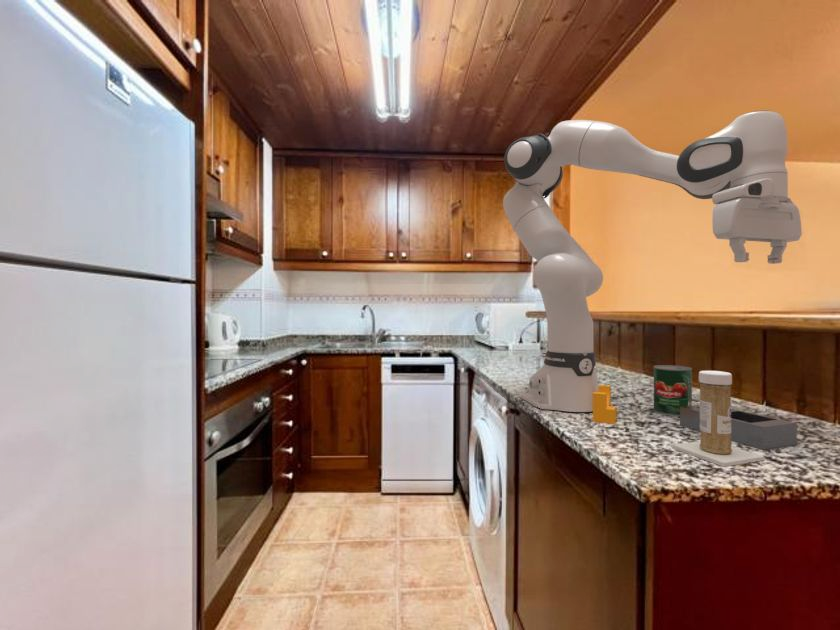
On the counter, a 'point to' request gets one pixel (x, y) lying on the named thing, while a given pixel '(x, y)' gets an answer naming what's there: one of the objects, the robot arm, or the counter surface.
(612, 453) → the counter surface
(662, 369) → the canned tomato
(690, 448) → the plate
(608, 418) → the orange stepped block
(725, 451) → the sprinkles bottle
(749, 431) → the grey open box
